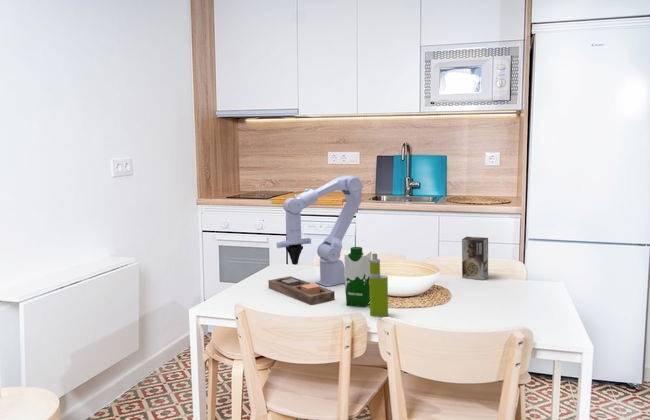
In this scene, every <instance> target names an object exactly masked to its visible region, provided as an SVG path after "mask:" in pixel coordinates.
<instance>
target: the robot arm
mask: <svg viewBox="0 0 650 420" xmlns="http://www.w3.org/2000/svg"><path fill="white" fill-rule="evenodd" d="M363 188H364V185H363V183H362V180H361V179H360V177H358V176H356V175H353V176H352V175H347V174H343V175H340V176H338V177H336V178H334V179H333V180H330V181H329V182H327V183H325V184H324V185H321V186H320V187H318V188H316V189H313V188H306V189H304V191H303V192H301V193H299V194H294V197H288V198H286V199H285V201H284V202H283V205H282V208H283V210H284V211H285V232H286V233H285V234H286V235H285V237H286V240H282V241H279V242H276V248H277V249H282V248H285V249H286V251H287V253H288V255H289V258H290V261H291V264H292V265H295V266H296V265H297V266H298V265H299V259H300V256H301V253H302V252H303V249H304V246H303V245H307V244H308V245H311V244H312V238H311V237H310V238H309V237H307V238H302V222H301V221H302V220H301V218H302V217H301V215H302V214H301V213H302V211H303V210H304V209H307V208H308V207H310V206H312V205H314V204H316V203H318V201H319V198H321V197H323V196H325V195H328V194H331V192H334V191H337V190H339V191H340V190H341V192H342V193H343V195H344V197H345V199H346V202H345V203H344V206H343V208H342V209H341V211H340V213H339V215H338V216H337V220H336V221H335V224H334V225H333V227H332V229H331V231H330V233H329V235H328V236H327V237H326V238H324V240H323V241H322V243H321V244H319V245H318V247H317V250H316V252H317V255H318V257H320V258H319V276H320V277H319V278H320V279H319V280H316V281H315V284H318V285H322V286H325V287H331V286H335V285H340V284H345V262H343V260H341V259H340V257H341V251H342V249H343V244H342V243H343V242H342V241H343V239H344V237H345V235H346V233H347V231H348V230H349V227H350V225H351V223H352V221H353V219H354V217H355V216H356V213H357V211H358V208H359V207H360V205H361V203H362V191H363Z"/></svg>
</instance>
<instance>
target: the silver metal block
mask: <svg viewBox="0 0 650 420" xmlns="http://www.w3.org/2000/svg"><path fill="white" fill-rule="evenodd" d="M281 283H284V284H286V285H289V286H297V285H299V281H298V280H295V279H287V280H282V281H281Z"/></svg>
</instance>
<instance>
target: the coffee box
mask: <svg viewBox="0 0 650 420" xmlns="http://www.w3.org/2000/svg"><path fill="white" fill-rule="evenodd" d="M461 272H462V273H461V275H462V276H461V279H468V280H469V279H471V280H480V281H481V280H482V281H485V280H486V279H487V278H489V237H479V236H465V237H463V238H462V239H461Z"/></svg>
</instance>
